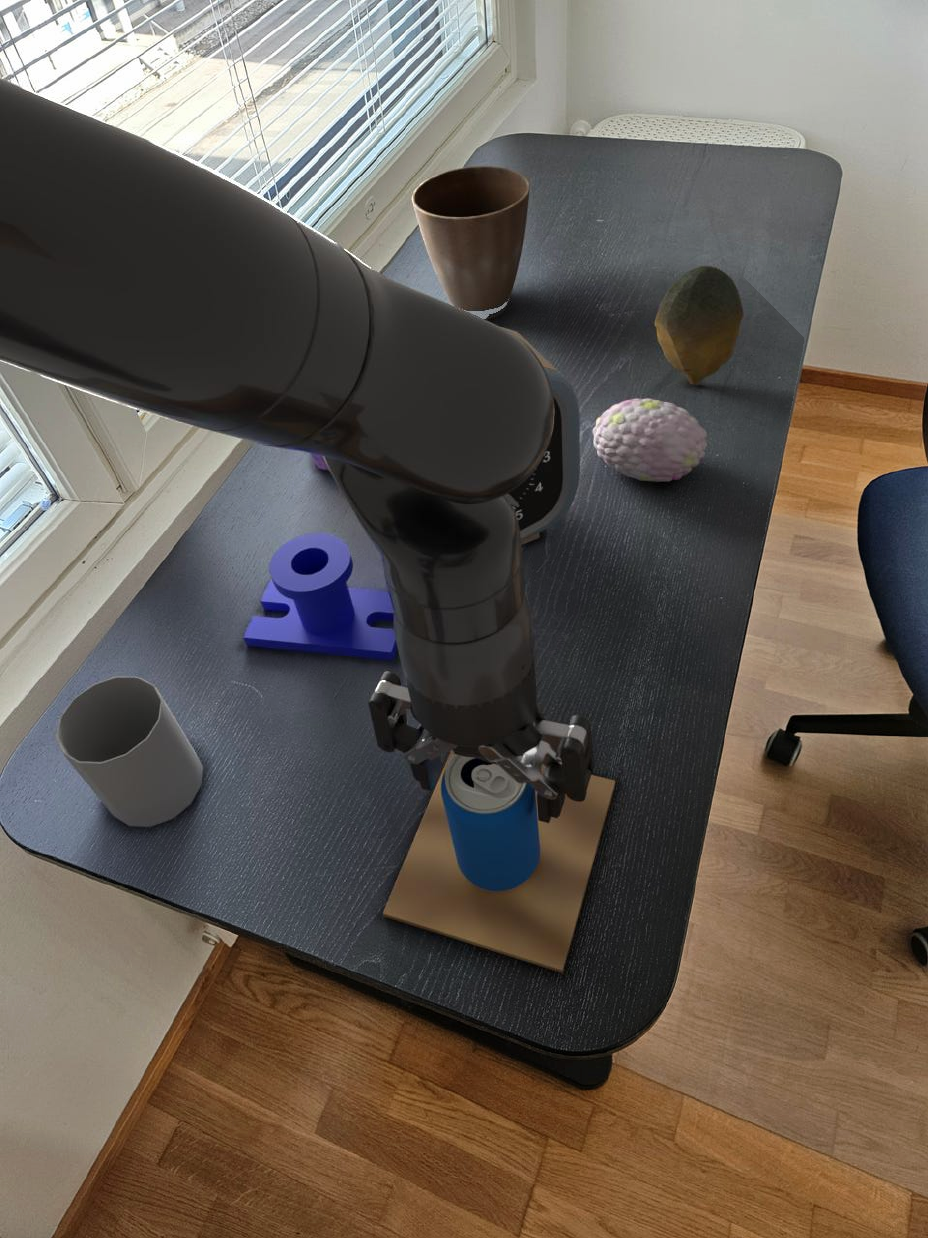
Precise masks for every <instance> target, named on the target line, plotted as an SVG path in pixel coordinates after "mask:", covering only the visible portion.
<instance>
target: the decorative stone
mask: <svg viewBox="0 0 928 1238" xmlns="http://www.w3.org/2000/svg"><path fill="white" fill-rule="evenodd" d="M743 317H744V308H743V304H742V300H741V296H740V293H739V290H738V288H737V286H736V284H735V282H734V280H733V279H732V278H731V277H730V276H729V275H728V274H727V273H726V272H724V271H723V270H721V269H720V268H718V267H715V266H710V265H700V266H697V267H695V268H692V269H690V270H688V271H686V272H685V273H683V274H682V275H681V276H679V277H678V278H677V279H676V280H675V281H674V282H673V283H672V284H671V285H670V286H669V287H668V290H667V291H666V292H665V295H664V297H663V298H662V300H661V302H660V303H659V307H658V311H657V313H656V316H655V320H654V327H655V329H656V336H657V341H658V344H659V345H660V347H661V349H662V351H663V356H664V357H665V359H666V360H667V361H668V363H670V364H671V365H672V367H673V368H674V369H676V370H677V371H679V372H680V373H683V375H684V376H685V377H686V379H687V382H689V384H691V385H693V386H698V385H701V382H702V381H703V380H704V379H705V378H707V377H710V376H712V375H714V374H715V373H716V372H717V371H719V370H720V367H721V366H723V365H725V364H726V363H727V362H728V361H729V360H730V359H731V358H732V357H733V353H734V350H735V347H736V344H737V341H738V338H739V335H740V327H741V323H742V320H743Z"/></svg>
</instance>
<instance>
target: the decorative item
mask: <svg viewBox="0 0 928 1238" xmlns="http://www.w3.org/2000/svg"><path fill="white" fill-rule="evenodd" d="M592 436H593V442H592V444H593V446H594V448H595V450H596V451H597V452H596V453H597V456H598V457H599V458H600V459H601V460H602V461H604V463H605V464H606V465H607V466H608V467H609V468H611V469H613V470H615V471H617V472H618V473H619V474H622V475H623V476H624V477H629V478H634V479H636V480H638V481H643V482H646V481H647V482H655V483H658V482H660V483H661V482H670V481H673V480H674V481H677V480H680V479H681V478H683V476H687V475H688V474H689V473H691V472H692V470H693V468H695V467H697V466H698V465H699V464H700V460H702V459H704V458H705V456H706V453H705V450H706V448H707V446H708V445H707V444H708V442H707V441H706V438H707V437H708V436H707V431H706V430H705V429H704V428H703V427H702V426H701V425H700V424H699V421H698V419H697V418H696V417H694V416H693V415H691V414H690V412H689V411H688V410H686V409H684V408H682V407H681V406H677V405H676V404H674V403H673V402H668V401H662V400H657V399H653V398H649V397H648V398H647V397H646V398H632V399H626V400H624V401H621V402H619V403H615V404H613V405H612V406H610V408H608V409H607V410H605V411H604V412H603V413H602V415H601V416H599V417H597V418H596V422H595V426H594V428H593V429H592Z"/></svg>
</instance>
